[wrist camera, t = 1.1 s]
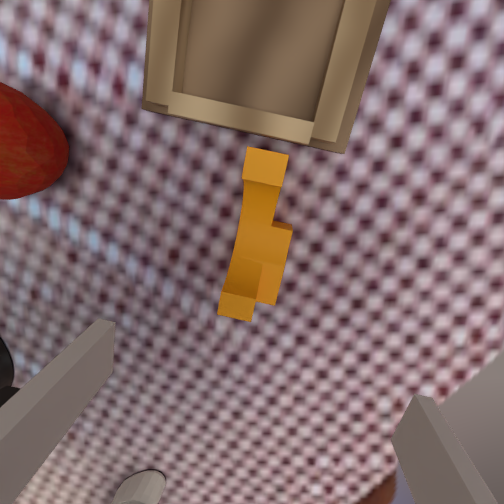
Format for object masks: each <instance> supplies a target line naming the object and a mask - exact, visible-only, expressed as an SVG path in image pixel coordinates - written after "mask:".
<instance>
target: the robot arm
mask: <svg viewBox="0 0 504 504" xmlns="http://www.w3.org/2000/svg"><path fill="white" fill-rule="evenodd" d="M115 324H116V322H112V321H108V320H103V319H99V318H98V319H97V320H96V321H95V322H94V323H93V324H92V325H91V326H89V327H88V328H87V329H86V330H85V331H84V332H83V333H82V334H81V335H80V336H78V337H77V338H76V339H75V340H74V341H73V342H72V343H71V344H70V345H69V346H67V347H66V348H65V349H64V350H63V351H62V352H61V353H60V354H59V355H58V356H56V357H55V358H54V359H53V360H52V361H51V362H50V363H49V364H48V365H47V366H45V367H44V368H43V369H42V370H41V371H40V372H39V373H38V374H37V375H36V376H34V377H33V378H32V379H31V380H30V381H29V382H28V383H27V384H26V385H25V386H23V387H22V388H21V389H19V388H15V387H11V383H12V379H13V368H12V363H11V359H10V357H9V354H8V352H7V350H6V348H5V346H4V344H3V343H2V341H1V340H0V504H12V503H13V502H14V501H15V499H16V498H17V497H18V495H19V494H20V493H21V491H22V490H23V489H24V487H25V486H26V485H27V484H28V482H29V481H30V480H31V478H32V477H33V476H34V474H35V473H36V472H37V470H38V469H39V468H40V467H41V465H42V464H43V463H44V461H45V460H46V459H47V457H48V456H49V455H50V453H51V452H52V451H53V450H54V448H55V447H56V446H57V444H58V443H59V442H60V440H61V439H62V438H63V436H64V435H65V434H66V433H67V431H68V430H69V429H70V427H71V426H72V425H73V423H74V422H75V421H76V419H77V418H78V417H79V416H80V414H81V413H82V412H83V410H84V409H85V408H86V406H87V405H88V404H89V402H90V401H91V400H92V399H93V397H94V396H95V395H96V393H97V392H98V391H99V389H100V388H101V387H102V385H103V384H104V383H105V381H106V380H107V379H108V378H109V376H110V375H111V374H112V372H113V357H114V340H115ZM391 442H392V444H393V447H394V450H395V452H396V455H397V457H398V460H399V463H400V465H401V468H402V470H403V473H404V475H405V478H406V481H407V483H408V486H409V488H410V491H411V494H412V496H413V499H414V501H415V504H498V503H497V501H496V500H495V498H494V496H493V495H492V493H491V492H490V490H489V488H488V487H487V485H486V484H485V482H484V480H483V479H482V477H481V475H480V474H479V472H478V471H477V469H476V467H475V466H474V464H473V463H472V461H471V459H470V458H469V456H468V455H467V453H466V451H465V450H464V448H463V447H462V445H461V443H460V442H459V440H458V439H457V437H456V435H455V434H454V432H453V430H452V429H451V427H450V426H449V424H448V422H447V421H446V419H445V418H444V416H443V414H442V413H441V411H440V410H439V408H438V406H437V405H436V403H435V402H434V400H433V398H430V397H426V396H422V395H417V394H414V396H413V398H412V400H411V402H410V403H409V405H408V407H407V409H406V411H405V413H404V415H403V417H402V419H401V421H400V423H399V424H398V426H397V428H396V430H395V432H394V434H393V436H392V438H391Z"/></svg>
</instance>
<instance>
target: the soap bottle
mask: <svg viewBox="0 0 504 504" xmlns="http://www.w3.org/2000/svg"><path fill="white" fill-rule="evenodd" d="M165 485H166V481H165V477H164V476H163V475H162V473H160V472H158V471H155V470H147V471H144V472H140V473H137V474H134V475H133V476H131V477H129V478H127V479H126V480H124V481H123V483H122V484H121V485H120V487H119V488H118V490H117V492H116V494H115V496H114V499H113V501H112V504H158V502H159V500H160V497H161V495H162V492H163V490H164V488H165Z"/></svg>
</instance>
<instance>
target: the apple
mask: <svg viewBox="0 0 504 504" xmlns="http://www.w3.org/2000/svg"><path fill="white" fill-rule="evenodd" d="M68 157H69V145H68V142H67V139H66V137H65V134H64V132H63V130H62V129H61V128H60V126H59V125H58V124H57V122H56V121H55V120H54V119H53V118H52V117H51V116H50V115H49V114H48V113H47V112H46V111H45V110H44V109H43V108H42V107H40V106H39V105H38V104H36V103H35V102H34V101H32V100H31V99H30V98H28V97H27V96H26V95H24V94H23V93H22V92H20V91H18V90H16V89H14V88H12V87H9V86H7V85H5V84H3V83H1V82H0V199H9V200H10V199H18V198H21V197H24V196H27V195H30V194H33V193H36V192H39V191H42V190H44V189H46V188H48V187H49V186H51V185H52V184H53V183H54V182H55V181H56V180H57V179H58V178H59V177H60V176H61V175H62V173H63V171H64V169H65V167H66V165H67V162H68Z"/></svg>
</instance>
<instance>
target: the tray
mask: <svg viewBox="0 0 504 504" xmlns="http://www.w3.org/2000/svg"><path fill="white" fill-rule="evenodd" d="M390 1H391V0H149V12H148V26H147V41H146V55H145V69H144V83H143V97H142V109H144V110H147V111H151V112H156V113H160V114H165V115H169V116H174V117H178V118H183V119H187V120H192V121H196V122H201V123H205V124H210V125H214V126H219V127H223V128H228V129H232V130H237V131H241V132H246V133H251V134H255V135H260V136H264V137H269V138H273V139H278V140H282V141H287V142H291V143H296V144H300V145H305V146H309V147H314V148H318V149H323V150H327V151H332V152H336V153H341V154H345V150H346V147H347V144H348V140H349V137H350V134H351V130H352V127H353V124H354V120H355V117H356V114H357V110H358V107H359V104H360V101H361V97H362V94H363V91H364V87H365V84H366V81H367V77H368V74H369V71H370V67H371V64H372V61H373V57H374V54H375V51H376V47H377V44H378V41H379V37H380V34H381V31H382V28H383V24H384V21H385V18H386V14H387V11H388V8H389V4H390Z"/></svg>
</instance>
